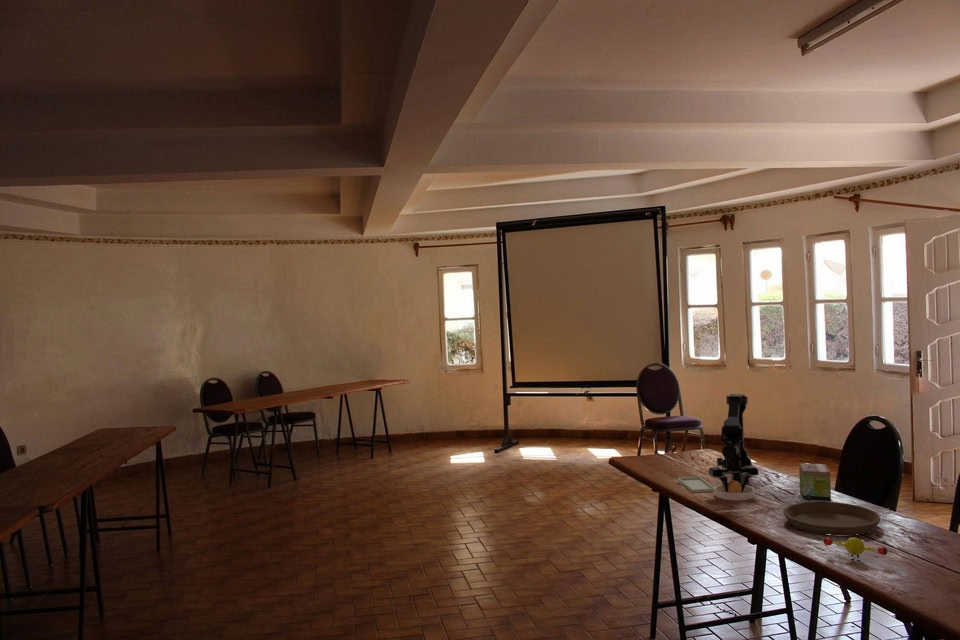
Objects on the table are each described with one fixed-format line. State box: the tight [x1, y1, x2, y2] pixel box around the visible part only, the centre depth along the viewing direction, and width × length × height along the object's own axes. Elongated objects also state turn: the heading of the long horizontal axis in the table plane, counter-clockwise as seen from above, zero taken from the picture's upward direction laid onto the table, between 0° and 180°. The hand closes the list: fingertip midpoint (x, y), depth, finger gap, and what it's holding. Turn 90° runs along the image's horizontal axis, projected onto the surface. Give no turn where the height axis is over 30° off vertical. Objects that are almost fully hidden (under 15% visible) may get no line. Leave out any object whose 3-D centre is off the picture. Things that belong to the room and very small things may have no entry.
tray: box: [677, 476, 715, 494], centre depth 317 cm, size 10×22×2 cm, turn 1°
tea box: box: [798, 463, 832, 503], centre depth 283 cm, size 15×10×15 cm
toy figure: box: [823, 536, 889, 559], centre depth 222 cm, size 18×6×7 cm, turn 48°
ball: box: [727, 479, 742, 493], centre depth 299 cm, size 6×6×6 cm
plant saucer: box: [782, 501, 881, 535], centre depth 257 cm, size 31×31×5 cm
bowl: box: [713, 484, 756, 501], centre depth 299 cm, size 16×16×4 cm
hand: (734, 492), depth 299 cm, fingers closed on ball, 6 cm apart
